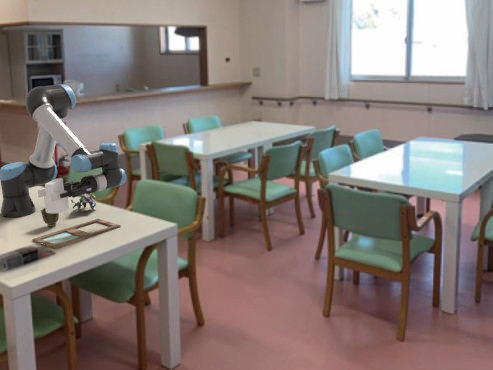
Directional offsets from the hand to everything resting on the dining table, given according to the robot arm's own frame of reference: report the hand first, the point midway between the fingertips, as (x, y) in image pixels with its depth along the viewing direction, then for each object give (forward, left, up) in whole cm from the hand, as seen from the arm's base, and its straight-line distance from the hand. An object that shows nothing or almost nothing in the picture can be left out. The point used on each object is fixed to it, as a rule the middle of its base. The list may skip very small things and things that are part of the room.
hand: (45, 195), depth 226 cm
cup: (-18, +12, -20) cm, 29 cm away
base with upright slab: (0, +5, -7) cm, 9 cm away
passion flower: (-25, +34, -20) cm, 46 cm away
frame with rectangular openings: (0, +13, -19) cm, 23 cm away
